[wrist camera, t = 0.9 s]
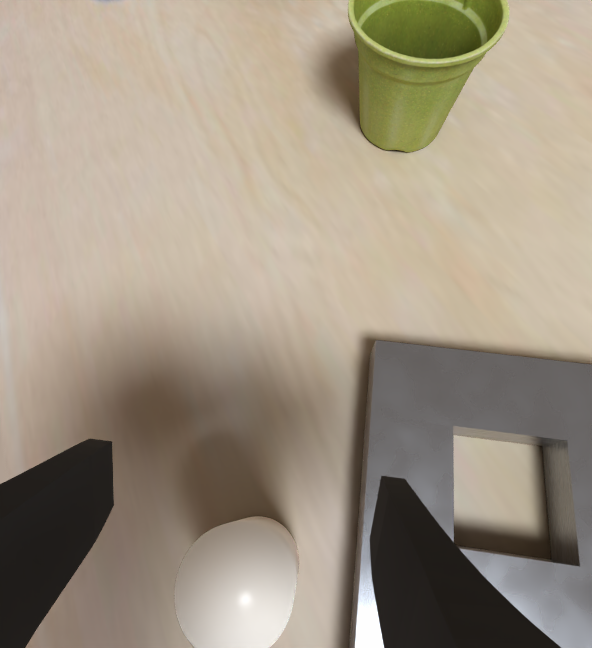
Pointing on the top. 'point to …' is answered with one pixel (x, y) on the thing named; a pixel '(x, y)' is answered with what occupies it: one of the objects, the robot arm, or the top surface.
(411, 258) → the top surface
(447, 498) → the plate
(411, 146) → the plant pot
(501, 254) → the top surface
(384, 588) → the robot arm
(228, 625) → the white rounded cylinder
